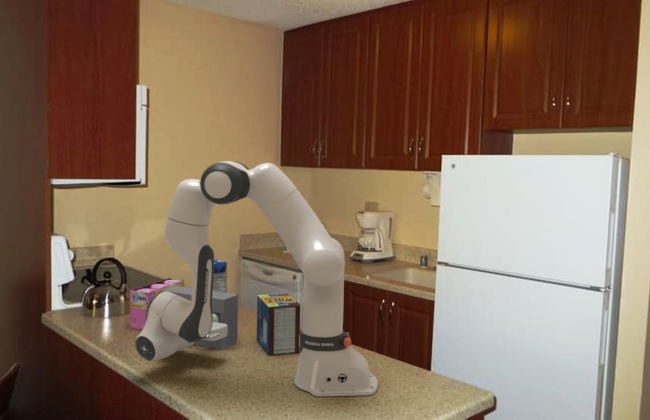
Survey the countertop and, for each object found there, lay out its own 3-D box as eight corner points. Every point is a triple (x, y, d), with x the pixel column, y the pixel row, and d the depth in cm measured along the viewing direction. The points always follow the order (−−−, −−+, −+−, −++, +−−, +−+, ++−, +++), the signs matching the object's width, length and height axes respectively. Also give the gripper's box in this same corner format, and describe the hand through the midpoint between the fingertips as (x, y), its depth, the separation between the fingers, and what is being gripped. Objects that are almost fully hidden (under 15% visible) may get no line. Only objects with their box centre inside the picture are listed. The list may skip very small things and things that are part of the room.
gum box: (169, 311, 219) (169, 277, 218) (187, 314, 217) (187, 279, 216) (129, 328, 197) (129, 289, 196) (148, 331, 194) (148, 292, 193)
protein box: (286, 338, 191) (287, 292, 189) (300, 353, 176) (301, 304, 175) (255, 340, 187) (256, 294, 186) (267, 356, 173) (268, 306, 171)
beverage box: (209, 324, 204) (210, 264, 202) (195, 317, 212) (196, 259, 211) (226, 321, 208) (227, 262, 207) (211, 314, 217) (212, 257, 215)
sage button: (222, 325, 179) (222, 312, 179) (215, 328, 176) (215, 315, 175) (212, 323, 181) (212, 311, 181) (204, 326, 177) (204, 314, 177)
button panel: (237, 342, 184) (238, 294, 183) (223, 349, 177) (224, 299, 176) (177, 332, 194) (177, 286, 192) (162, 338, 186) (162, 290, 185)
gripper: (212, 327, 159) (238, 315, 172) (154, 317, 167) (183, 307, 180) (211, 349, 160) (238, 336, 172) (154, 338, 168) (183, 326, 181)
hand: (210, 321), depth 176 cm, fingers closed, pressing on sage button
